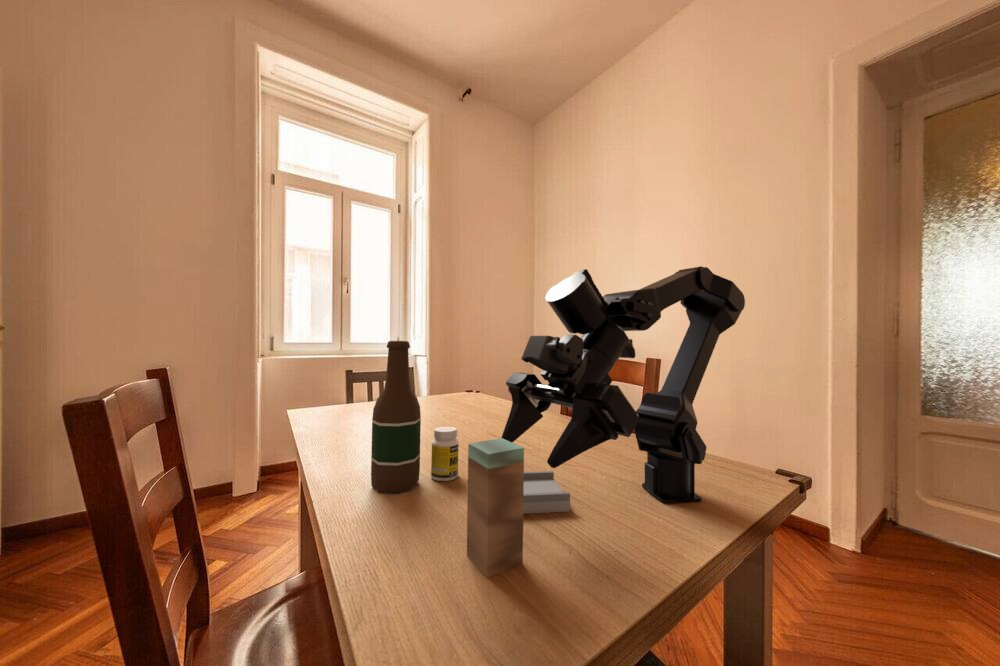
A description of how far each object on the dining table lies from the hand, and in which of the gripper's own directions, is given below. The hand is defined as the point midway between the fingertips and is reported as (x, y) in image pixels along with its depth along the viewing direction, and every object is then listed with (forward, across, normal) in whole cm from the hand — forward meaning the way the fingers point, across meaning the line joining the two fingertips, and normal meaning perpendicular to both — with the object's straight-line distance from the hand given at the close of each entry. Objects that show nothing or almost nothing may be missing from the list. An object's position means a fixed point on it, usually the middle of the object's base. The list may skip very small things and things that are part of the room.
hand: (524, 453), depth 42 cm
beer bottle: (+13, -26, +3) cm, 29 cm away
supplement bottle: (+7, -25, +9) cm, 28 cm away
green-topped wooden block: (+10, 0, +5) cm, 12 cm away
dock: (+2, -11, +13) cm, 17 cm away
